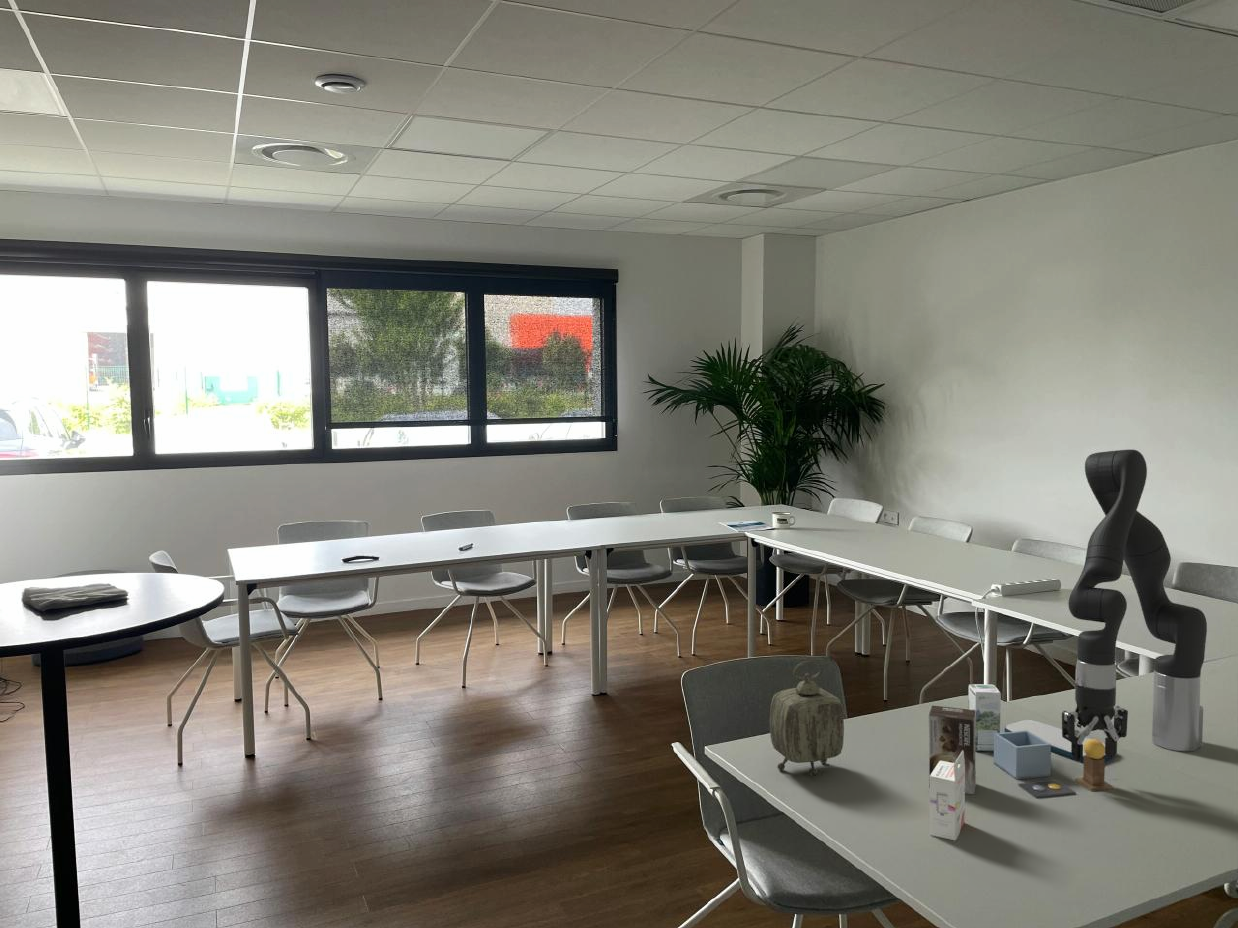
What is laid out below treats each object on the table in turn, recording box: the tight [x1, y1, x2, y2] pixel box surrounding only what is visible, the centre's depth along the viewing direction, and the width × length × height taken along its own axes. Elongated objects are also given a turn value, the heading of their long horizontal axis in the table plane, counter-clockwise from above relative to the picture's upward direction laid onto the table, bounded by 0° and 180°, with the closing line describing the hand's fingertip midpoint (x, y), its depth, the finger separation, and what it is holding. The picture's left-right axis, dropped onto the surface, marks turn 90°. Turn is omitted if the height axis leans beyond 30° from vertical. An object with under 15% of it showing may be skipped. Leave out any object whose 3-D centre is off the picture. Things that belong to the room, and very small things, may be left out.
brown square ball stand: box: [1074, 755, 1114, 792], centre depth 187 cm, size 5×5×6 cm
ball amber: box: [1084, 738, 1105, 759], centre depth 187 cm, size 4×4×4 cm
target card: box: [1018, 779, 1077, 799], centre depth 186 cm, size 9×6×1 cm, turn 100°
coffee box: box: [928, 705, 977, 795], centre depth 188 cm, size 9×6×16 cm
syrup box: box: [967, 683, 1002, 753], centre depth 208 cm, size 6×6×14 cm
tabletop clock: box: [769, 660, 845, 777], centre depth 196 cm, size 14×9×25 cm, turn 108°
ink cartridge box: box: [929, 751, 966, 841], centre depth 169 cm, size 9×5×15 cm, turn 148°
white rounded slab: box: [1004, 719, 1117, 764], centre depth 209 cm, size 24×12×2 cm, turn 31°
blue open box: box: [993, 731, 1052, 780], centre depth 195 cm, size 8×8×7 cm
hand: (1093, 757), depth 187 cm, fingers open, 7 cm apart
